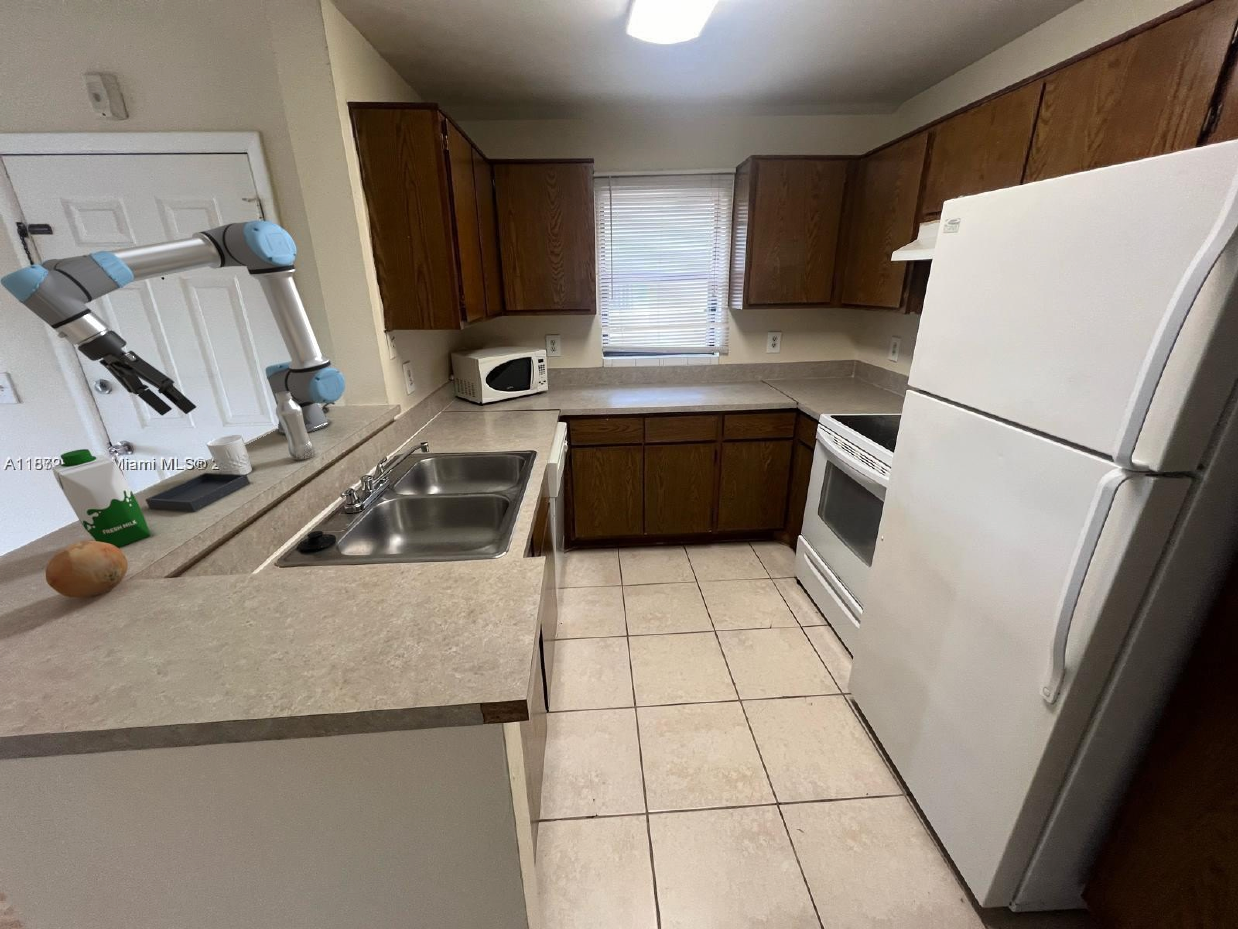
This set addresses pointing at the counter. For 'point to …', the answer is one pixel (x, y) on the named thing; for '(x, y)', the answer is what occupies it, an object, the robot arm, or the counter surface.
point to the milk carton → (101, 498)
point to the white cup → (230, 454)
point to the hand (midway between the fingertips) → (179, 411)
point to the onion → (86, 569)
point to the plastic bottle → (294, 426)
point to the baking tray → (197, 492)
